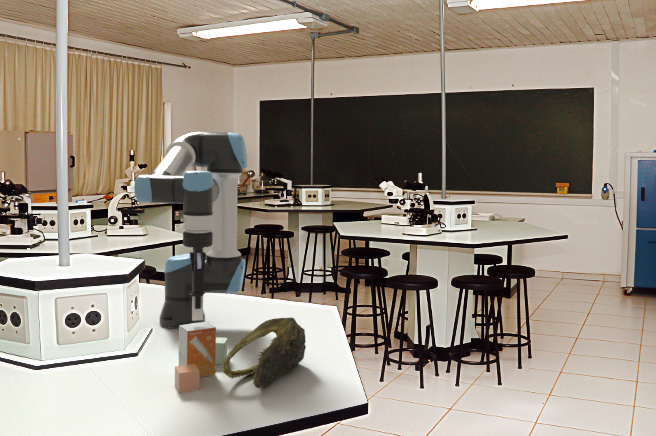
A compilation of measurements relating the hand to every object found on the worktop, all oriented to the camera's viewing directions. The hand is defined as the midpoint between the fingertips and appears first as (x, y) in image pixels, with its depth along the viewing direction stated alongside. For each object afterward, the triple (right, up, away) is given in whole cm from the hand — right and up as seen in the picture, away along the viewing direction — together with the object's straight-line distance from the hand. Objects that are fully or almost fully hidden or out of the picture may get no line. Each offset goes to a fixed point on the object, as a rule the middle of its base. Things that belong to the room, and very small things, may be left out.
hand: (197, 319), depth 159 cm
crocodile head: (+19, -16, +1) cm, 25 cm away
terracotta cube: (-1, -16, -8) cm, 18 cm away
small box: (0, -15, +1) cm, 15 cm away
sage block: (+3, -14, +12) cm, 18 cm away
